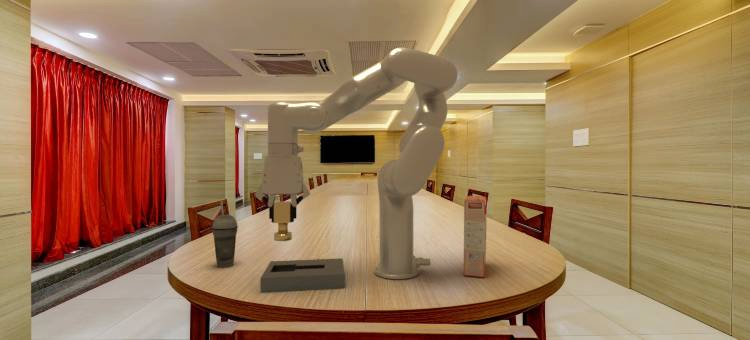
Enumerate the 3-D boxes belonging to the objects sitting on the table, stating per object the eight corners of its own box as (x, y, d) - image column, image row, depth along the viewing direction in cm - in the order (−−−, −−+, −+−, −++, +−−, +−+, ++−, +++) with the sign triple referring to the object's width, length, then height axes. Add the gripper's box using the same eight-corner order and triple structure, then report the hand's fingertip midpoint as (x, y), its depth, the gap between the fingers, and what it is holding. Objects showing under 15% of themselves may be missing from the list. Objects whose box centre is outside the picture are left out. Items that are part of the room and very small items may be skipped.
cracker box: (486, 278, 89) (486, 200, 88) (462, 276, 90) (462, 199, 90) (486, 264, 102) (486, 195, 102) (466, 262, 104) (466, 195, 103)
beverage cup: (228, 269, 97) (227, 201, 96) (206, 268, 98) (205, 200, 98) (243, 262, 104) (242, 198, 104) (222, 261, 105) (221, 198, 105)
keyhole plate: (342, 270, 96) (342, 258, 96) (344, 288, 82) (344, 273, 82) (270, 273, 93) (270, 261, 93) (260, 292, 79) (260, 277, 79)
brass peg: (292, 237, 89) (292, 201, 89) (290, 240, 85) (290, 203, 85) (275, 237, 89) (275, 201, 88) (272, 241, 84) (272, 203, 84)
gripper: (316, 152, 91) (316, 218, 91) (252, 151, 89) (252, 220, 89) (315, 150, 84) (315, 223, 84) (245, 150, 82) (245, 224, 82)
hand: (283, 220), depth 87 cm, fingers closed on brass peg, 4 cm apart
